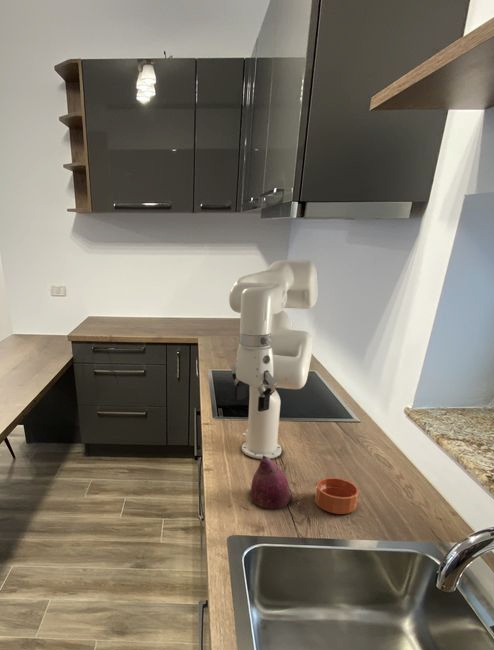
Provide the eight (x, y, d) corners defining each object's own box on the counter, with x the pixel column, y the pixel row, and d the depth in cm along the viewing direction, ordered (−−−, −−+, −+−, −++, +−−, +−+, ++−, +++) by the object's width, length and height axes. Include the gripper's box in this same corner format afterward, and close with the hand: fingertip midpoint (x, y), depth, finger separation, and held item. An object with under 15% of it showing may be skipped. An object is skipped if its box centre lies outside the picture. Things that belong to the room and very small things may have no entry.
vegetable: (260, 521, 114) (253, 478, 106) (245, 495, 123) (237, 454, 114) (297, 507, 115) (293, 463, 107) (280, 482, 124) (274, 440, 115)
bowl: (306, 500, 117) (308, 483, 115) (334, 489, 121) (336, 473, 119) (336, 520, 109) (338, 502, 107) (364, 508, 113) (367, 491, 111)
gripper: (290, 344, 104) (284, 412, 111) (245, 331, 118) (242, 392, 125) (265, 349, 101) (261, 418, 108) (222, 335, 114) (220, 397, 121)
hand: (251, 404), depth 116 cm, fingers open, 9 cm apart
